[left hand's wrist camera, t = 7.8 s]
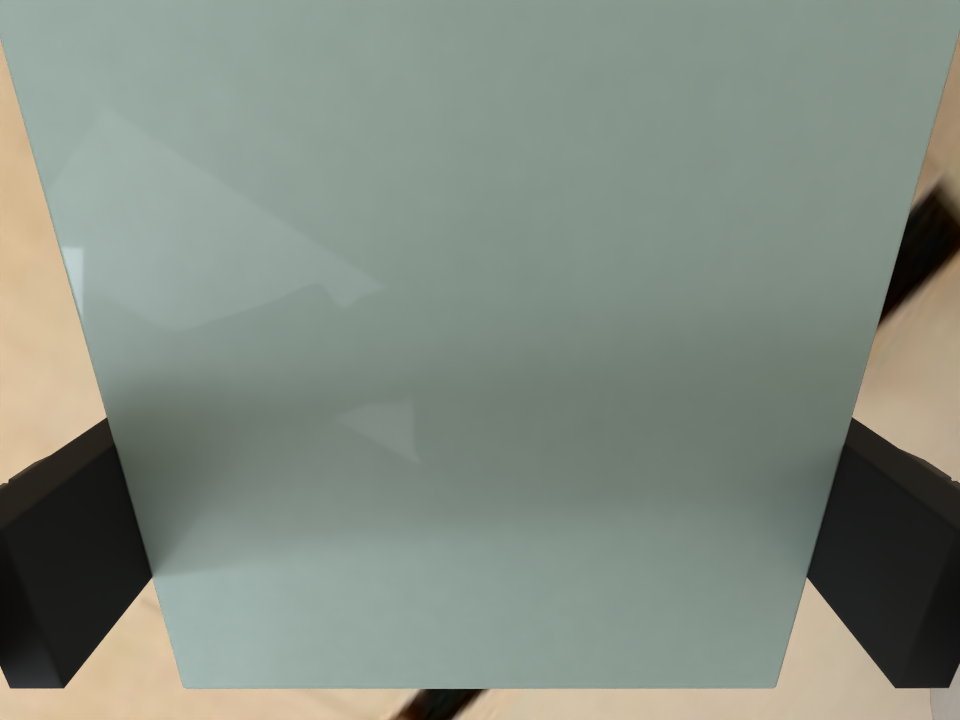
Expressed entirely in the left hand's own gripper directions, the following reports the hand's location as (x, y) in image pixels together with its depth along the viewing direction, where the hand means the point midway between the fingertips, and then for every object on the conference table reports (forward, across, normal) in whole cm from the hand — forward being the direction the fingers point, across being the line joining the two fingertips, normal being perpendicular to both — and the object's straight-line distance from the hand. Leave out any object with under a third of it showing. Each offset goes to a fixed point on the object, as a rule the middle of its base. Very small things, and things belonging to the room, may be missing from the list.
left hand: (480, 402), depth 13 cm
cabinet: (+6, 0, -6) cm, 8 cm away
